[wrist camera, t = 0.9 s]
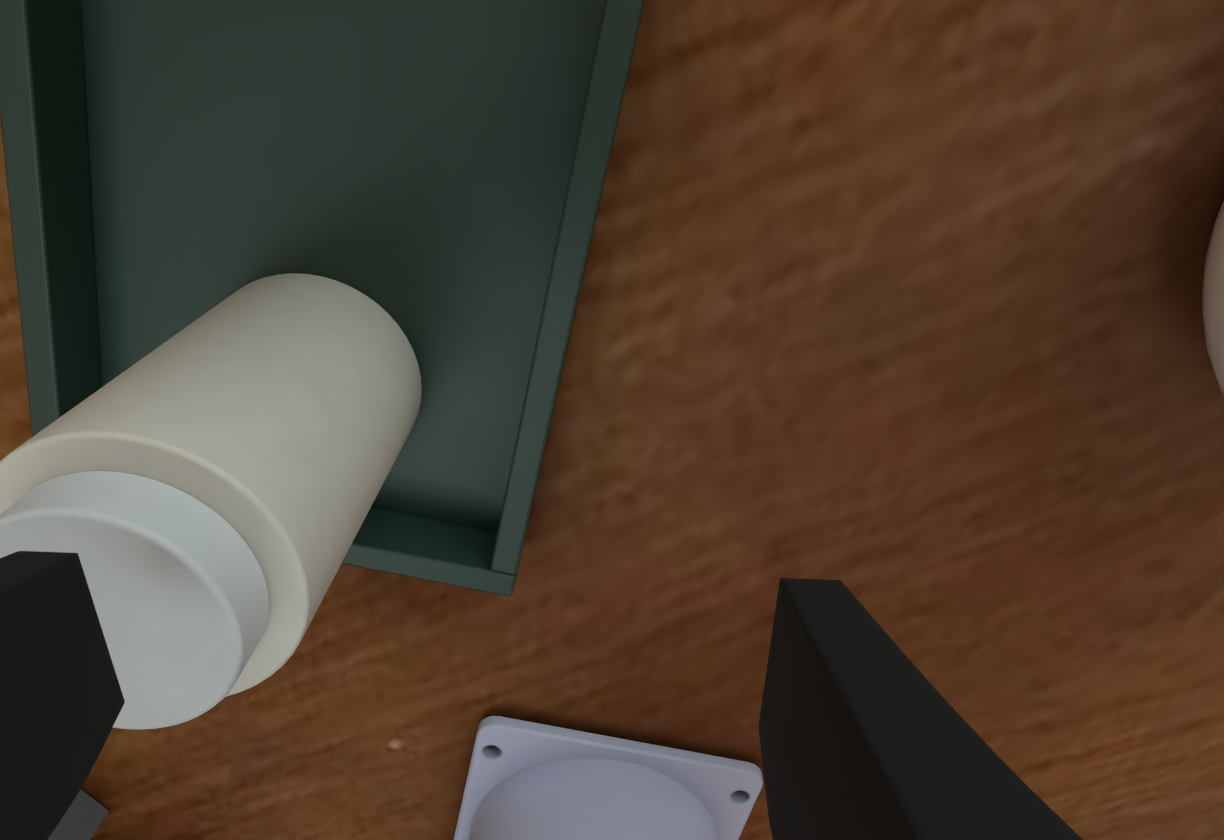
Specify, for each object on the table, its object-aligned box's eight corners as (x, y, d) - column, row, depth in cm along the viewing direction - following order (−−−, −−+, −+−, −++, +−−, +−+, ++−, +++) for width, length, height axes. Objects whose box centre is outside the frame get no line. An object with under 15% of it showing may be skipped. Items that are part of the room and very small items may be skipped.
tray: (521, 547, 20) (511, 597, 18) (90, 460, 19) (38, 504, 17) (766, -553, 11) (789, -652, 10) (10, -798, 11) (-109, -952, 9)
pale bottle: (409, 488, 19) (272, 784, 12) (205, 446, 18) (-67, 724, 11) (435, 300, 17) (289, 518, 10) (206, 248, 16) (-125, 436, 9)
